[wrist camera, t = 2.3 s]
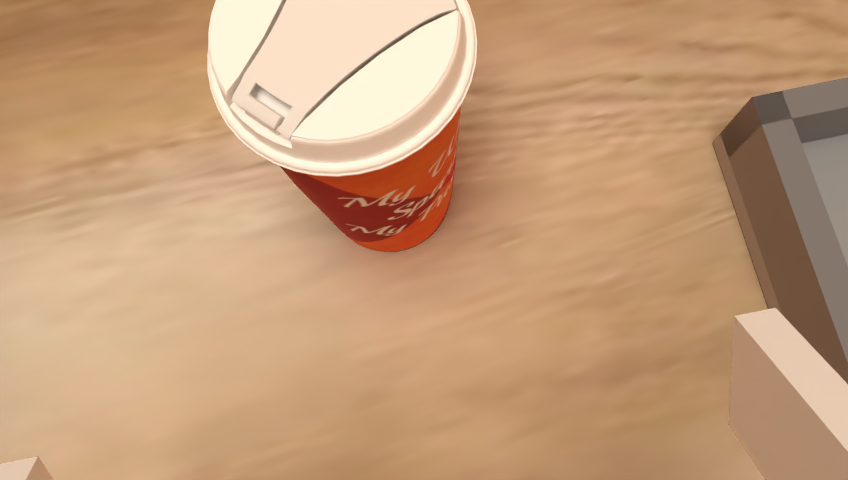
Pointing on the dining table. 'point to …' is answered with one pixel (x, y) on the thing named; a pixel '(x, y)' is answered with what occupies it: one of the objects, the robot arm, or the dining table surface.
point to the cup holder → (796, 206)
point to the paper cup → (350, 103)
